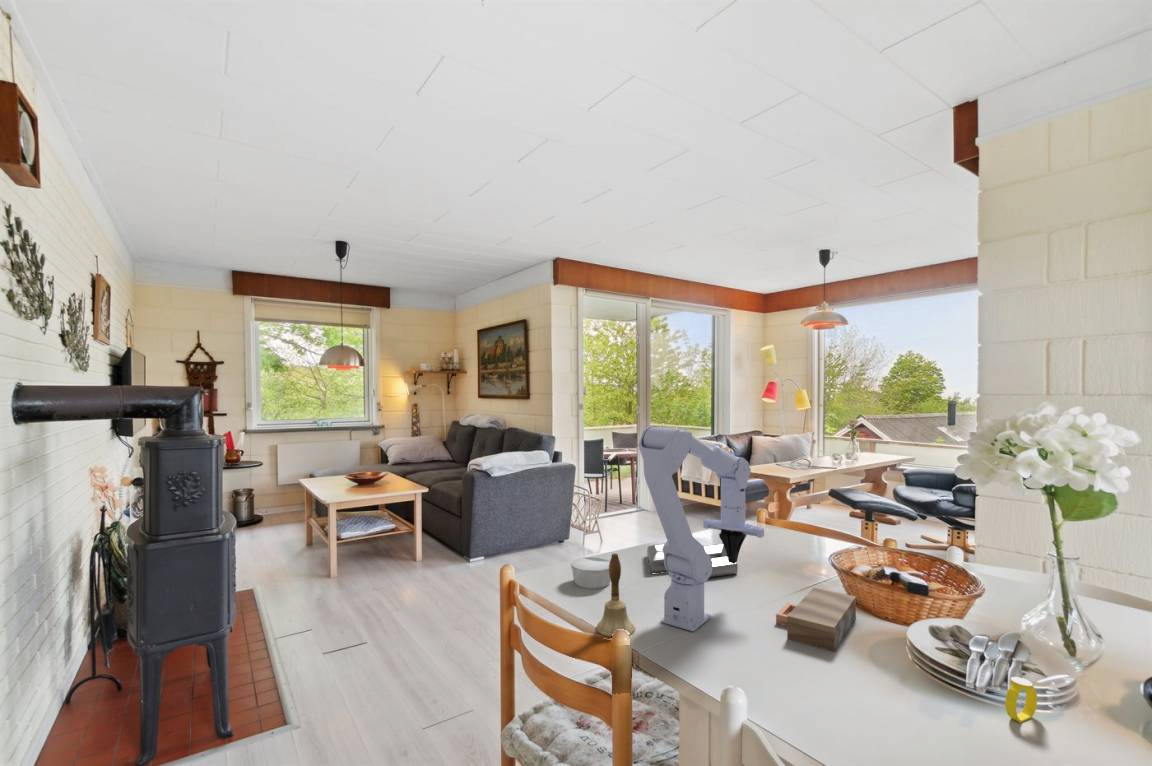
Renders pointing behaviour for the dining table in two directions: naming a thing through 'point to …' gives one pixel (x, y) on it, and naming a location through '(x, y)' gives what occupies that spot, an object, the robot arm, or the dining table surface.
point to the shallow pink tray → (784, 613)
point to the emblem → (714, 551)
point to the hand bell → (614, 605)
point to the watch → (1013, 696)
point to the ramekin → (591, 572)
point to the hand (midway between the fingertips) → (732, 562)
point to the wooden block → (821, 618)
